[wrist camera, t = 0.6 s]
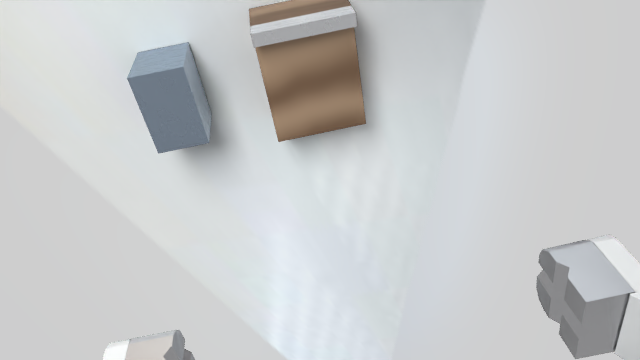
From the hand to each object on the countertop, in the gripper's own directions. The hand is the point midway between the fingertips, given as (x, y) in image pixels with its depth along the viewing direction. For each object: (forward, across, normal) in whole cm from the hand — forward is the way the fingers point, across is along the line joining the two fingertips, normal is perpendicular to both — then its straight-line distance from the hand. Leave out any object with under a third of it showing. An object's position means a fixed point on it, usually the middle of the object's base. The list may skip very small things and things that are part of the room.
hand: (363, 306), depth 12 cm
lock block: (+42, +12, +11) cm, 45 cm away
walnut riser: (+42, -1, +11) cm, 44 cm away
